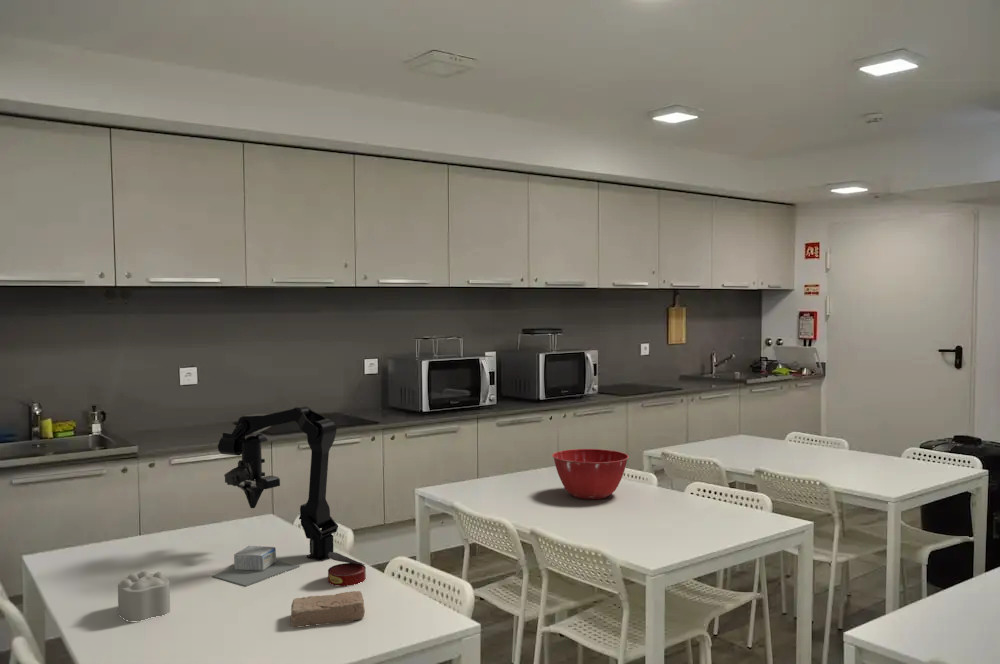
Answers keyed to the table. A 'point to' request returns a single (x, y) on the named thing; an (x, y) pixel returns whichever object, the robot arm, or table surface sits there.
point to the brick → (327, 609)
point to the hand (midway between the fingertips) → (252, 508)
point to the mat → (254, 574)
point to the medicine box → (254, 558)
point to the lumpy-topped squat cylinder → (143, 596)
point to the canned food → (345, 571)
